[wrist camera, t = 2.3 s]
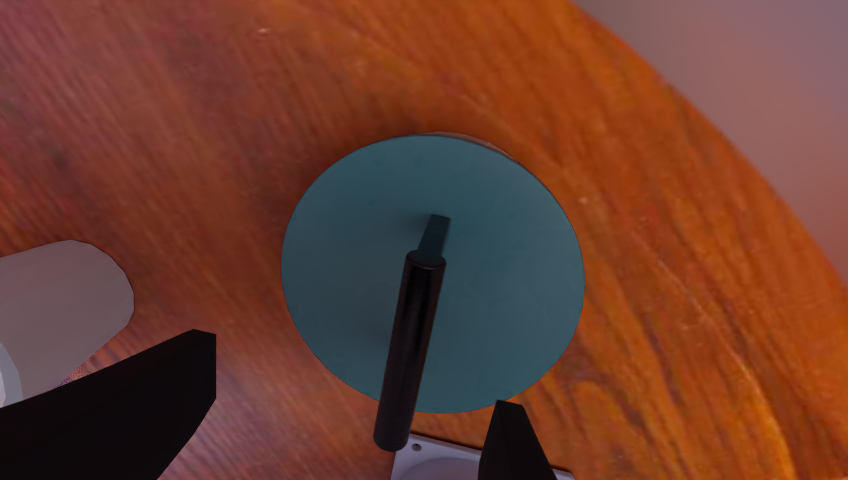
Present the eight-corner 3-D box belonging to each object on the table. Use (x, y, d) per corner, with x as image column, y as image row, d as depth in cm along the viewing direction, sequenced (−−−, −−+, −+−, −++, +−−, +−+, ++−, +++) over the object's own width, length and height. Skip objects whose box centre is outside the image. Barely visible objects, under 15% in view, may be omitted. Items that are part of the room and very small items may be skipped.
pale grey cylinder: (95, 209, 23) (-63, 265, 16) (169, 325, 25) (54, 417, 18) (0, 252, 24) (-178, 319, 18) (76, 357, 26) (-60, 452, 20)
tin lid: (622, 167, 15) (691, 220, 10) (534, 422, 19) (550, 556, 14) (304, 102, 16) (211, 119, 10) (283, 361, 20) (207, 467, 14)
